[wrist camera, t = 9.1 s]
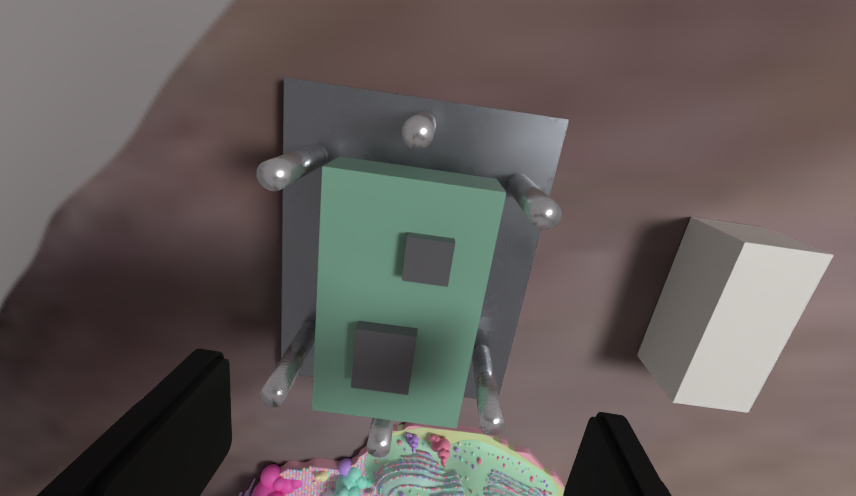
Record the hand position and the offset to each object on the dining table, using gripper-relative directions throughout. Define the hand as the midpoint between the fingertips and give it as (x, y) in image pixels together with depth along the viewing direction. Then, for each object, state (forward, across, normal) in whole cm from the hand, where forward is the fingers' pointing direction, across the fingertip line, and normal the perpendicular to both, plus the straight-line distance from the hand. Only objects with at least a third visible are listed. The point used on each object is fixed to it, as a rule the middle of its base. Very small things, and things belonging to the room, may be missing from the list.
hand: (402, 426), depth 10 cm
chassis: (+11, +1, -1) cm, 11 cm away
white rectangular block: (+11, -14, -1) cm, 18 cm away
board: (+7, +1, 0) cm, 7 cm away
